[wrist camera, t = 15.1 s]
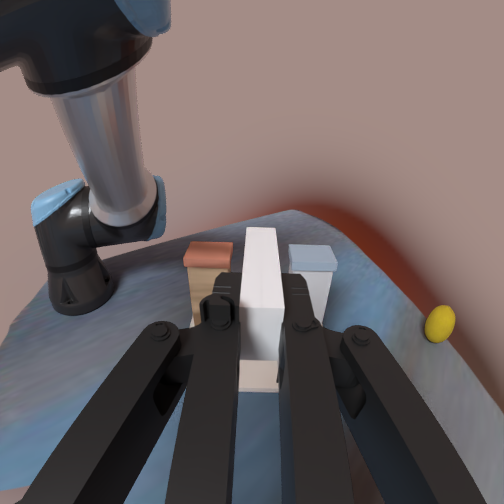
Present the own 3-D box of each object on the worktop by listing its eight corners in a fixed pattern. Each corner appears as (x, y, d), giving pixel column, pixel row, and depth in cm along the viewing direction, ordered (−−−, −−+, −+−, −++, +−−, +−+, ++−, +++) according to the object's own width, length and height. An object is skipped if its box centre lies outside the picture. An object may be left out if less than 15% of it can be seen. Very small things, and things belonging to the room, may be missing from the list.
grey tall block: (318, 349, 41) (337, 263, 33) (281, 349, 41) (292, 261, 33) (313, 328, 45) (329, 245, 37) (280, 328, 45) (288, 244, 38)
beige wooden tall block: (231, 348, 41) (229, 259, 34) (195, 345, 41) (183, 258, 34) (234, 327, 45) (232, 242, 38) (199, 325, 45) (191, 241, 38)
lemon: (437, 356, 38) (457, 321, 35) (414, 341, 42) (430, 306, 38) (447, 340, 41) (464, 306, 38) (425, 327, 45) (440, 293, 41)
